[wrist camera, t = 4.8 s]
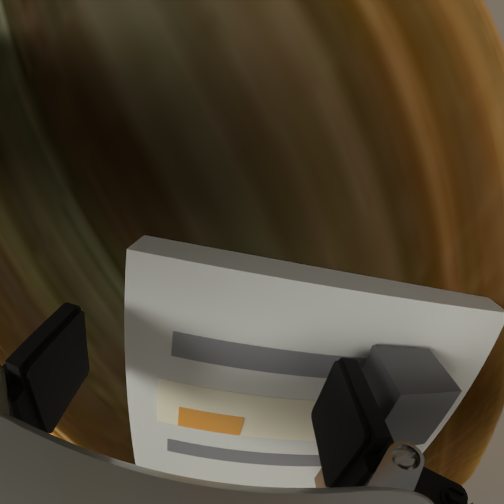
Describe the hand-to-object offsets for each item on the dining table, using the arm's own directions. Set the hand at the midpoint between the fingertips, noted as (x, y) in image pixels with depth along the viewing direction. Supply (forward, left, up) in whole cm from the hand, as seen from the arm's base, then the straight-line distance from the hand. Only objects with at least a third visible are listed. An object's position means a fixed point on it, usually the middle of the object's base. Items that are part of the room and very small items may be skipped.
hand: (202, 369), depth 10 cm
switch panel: (+4, +6, -3) cm, 7 cm away
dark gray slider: (0, +8, -1) cm, 8 cm away
